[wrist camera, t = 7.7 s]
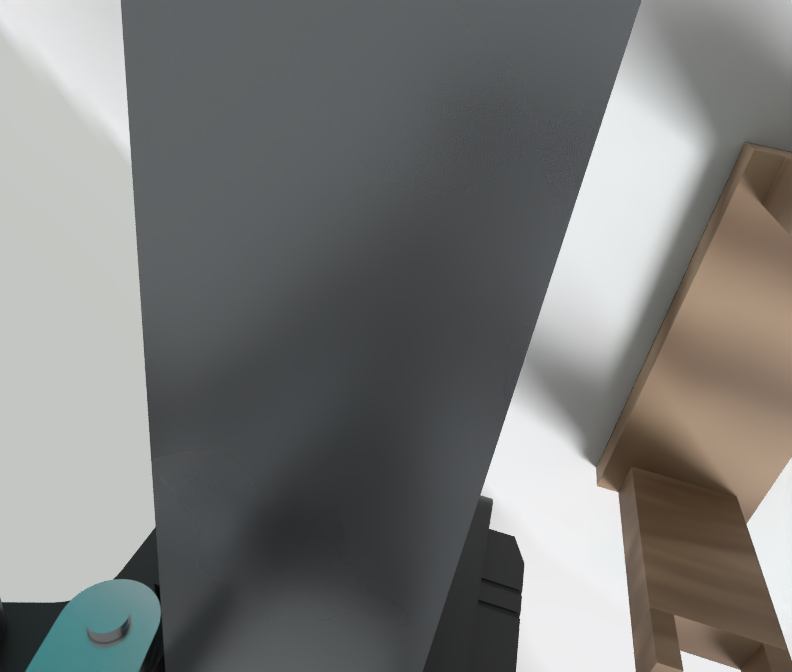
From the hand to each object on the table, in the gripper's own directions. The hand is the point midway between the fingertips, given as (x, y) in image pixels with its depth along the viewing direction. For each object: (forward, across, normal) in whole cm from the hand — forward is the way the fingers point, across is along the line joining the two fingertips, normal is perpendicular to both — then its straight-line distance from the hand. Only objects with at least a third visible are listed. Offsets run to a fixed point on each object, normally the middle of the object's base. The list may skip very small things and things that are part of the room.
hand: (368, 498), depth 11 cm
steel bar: (-1, 0, 0) cm, 1 cm away
